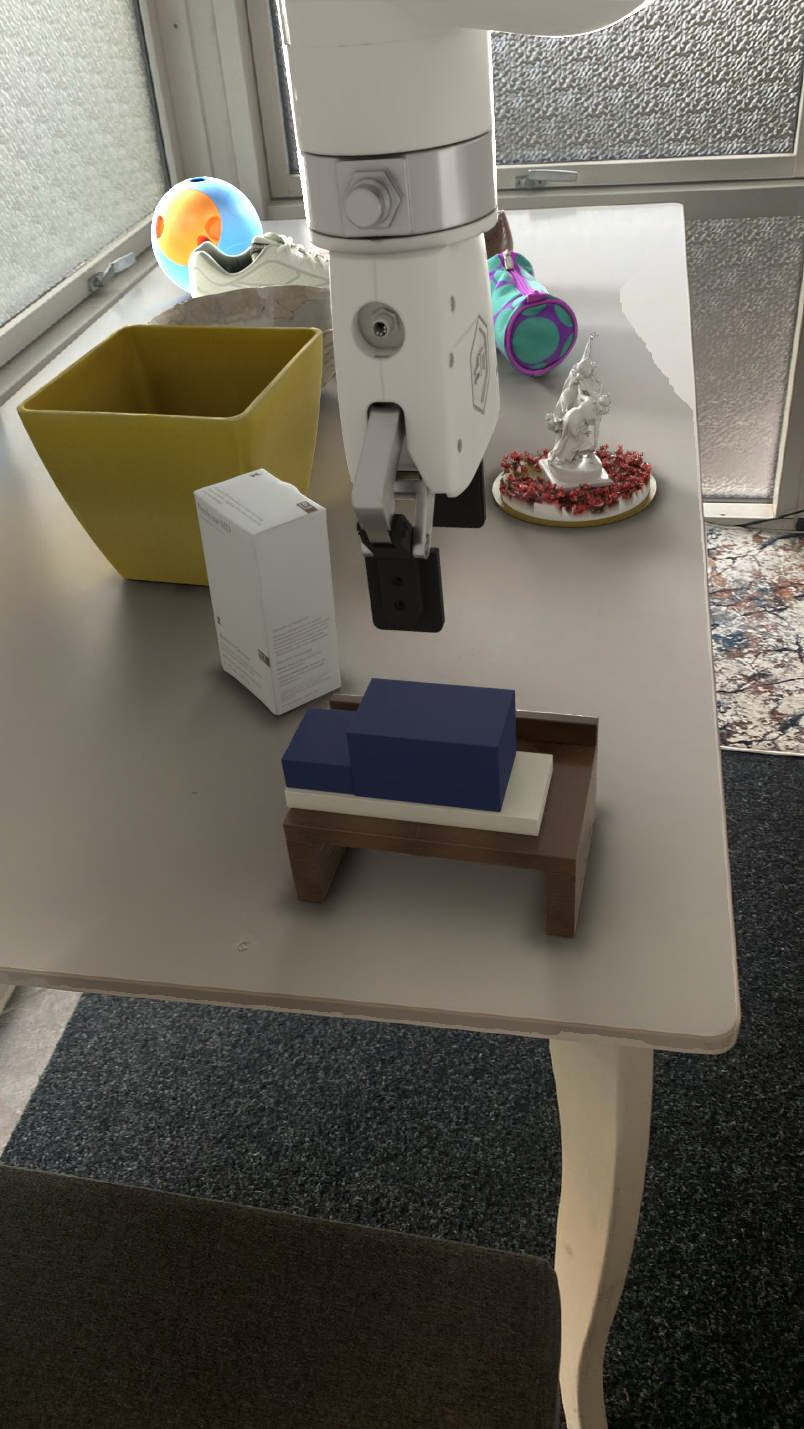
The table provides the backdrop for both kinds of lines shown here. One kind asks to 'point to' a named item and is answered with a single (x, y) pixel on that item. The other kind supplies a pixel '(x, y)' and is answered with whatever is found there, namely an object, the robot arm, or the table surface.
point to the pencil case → (528, 317)
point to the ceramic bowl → (262, 313)
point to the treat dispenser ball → (201, 224)
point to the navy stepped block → (420, 759)
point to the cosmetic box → (270, 588)
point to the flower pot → (174, 432)
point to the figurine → (576, 465)
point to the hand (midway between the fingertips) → (433, 573)
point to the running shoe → (256, 266)
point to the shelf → (554, 850)
